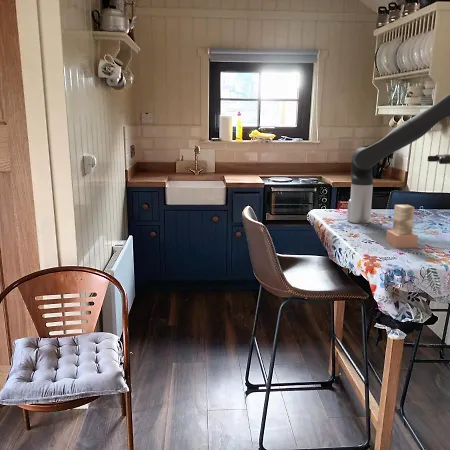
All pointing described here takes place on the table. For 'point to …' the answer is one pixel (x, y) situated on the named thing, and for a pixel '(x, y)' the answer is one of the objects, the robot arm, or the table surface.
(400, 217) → the pillar
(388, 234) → the base block
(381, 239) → the build mat
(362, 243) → the table surface
